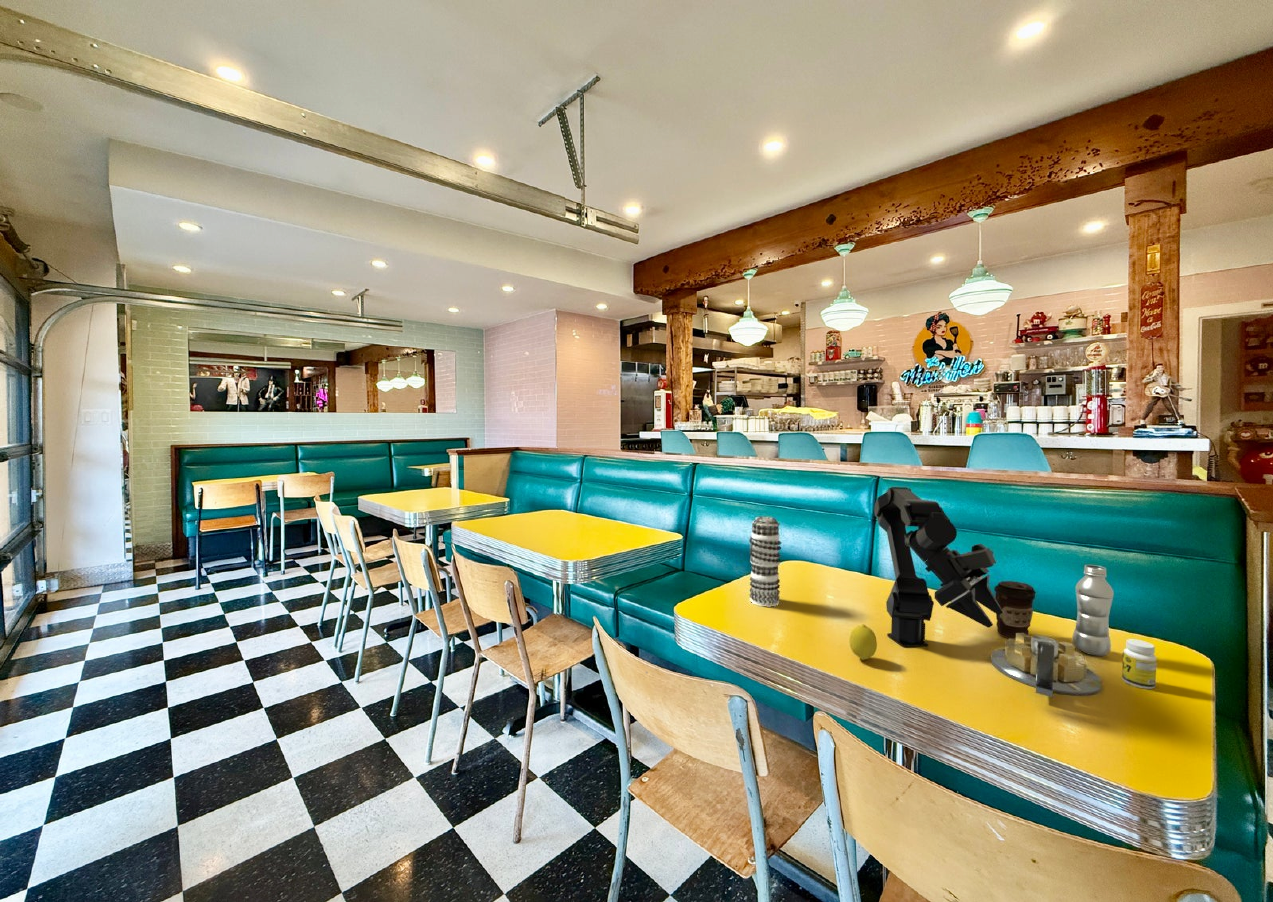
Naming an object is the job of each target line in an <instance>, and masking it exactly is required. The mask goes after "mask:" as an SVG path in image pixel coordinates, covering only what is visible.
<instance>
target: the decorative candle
mask: <svg viewBox="0 0 1273 902" xmlns="http://www.w3.org/2000/svg"><path fill="white" fill-rule="evenodd" d="M751 524H752V526H751V527H752V528H751V535H750V536H749V540H748V541H749V542H748V543H750V545H749V549H750V550H749V555H750V559H749V562H750V563H751V571H750V578H749V580H750V582H749V586H751V587H750V588H749V597H750V598H749V602H750V601H751V602H752V603H753V604H752V603H751V602H750V603H751V604H752V605H754V604H756V605H755V606H757V605H759V606H758V607H762V606H767V607H766V608H772V607H771V606H774V607H777V606H778V605H777V604H779V605H780V597H781V596H780V593H781V591H780V590H779V589H780V582H781V580H780V578H779V577H780V576H779V575H780V574H779V566H780V565H781V564H780V563H781V559H780V558H779V557H781V556H782V554H781V553H780V552H779V551H780V550H782V547H781V546H780V545H781V544H782V541H780V533H779V530H780V528H779V525H781V524H780V523H779V522H778V521H777V519H776V517H775V518H774V517H772V516H756V517H755V519H754V520H753V521H751ZM776 605H777V606H776Z"/></svg>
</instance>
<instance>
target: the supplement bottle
mask: <svg viewBox="0 0 1273 902" xmlns="http://www.w3.org/2000/svg"><path fill="white" fill-rule="evenodd" d="M1155 647H1156V646H1155V645H1154V644H1153V643H1150V642H1147V641H1146V640H1145V641H1144V640H1141V639H1136V638H1128V639H1126V643H1125V648H1124V649H1123V652H1122V654H1123V655H1122V672H1121V679H1122V681H1123V682H1125V683H1126V684H1128V685H1130V686H1133V687H1136V688H1140V689H1145V690H1152V689H1155V688H1156V679H1157V678H1156V677H1157V676H1156V675H1157V661H1158V660H1157V659H1158V658H1157V656H1156V655H1155V652H1156V651H1155V650H1156V649H1155Z"/></svg>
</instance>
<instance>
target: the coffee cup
mask: <svg viewBox="0 0 1273 902" xmlns="http://www.w3.org/2000/svg"><path fill="white" fill-rule="evenodd" d="M993 590H994V593H995V595H994V597H995V598H996V600H997V602H998V604H999V605H1000V607H1001V609H1002V611H1003V613H1002V614H1000V615H997V614H996V613H995V616H996V617H995V618H996V629H997V630H996V631H997V634H998V635H999V636H1001V637H1004V638H1006V639H1010V638H1016V633H1025V634H1027V635H1029V628H1030V627H1031V622H1032V617H1033V615H1034V614H1033V613H1034V608H1033V603H1034V600H1035V599H1036V593H1037V591H1035V589H1034V587H1033V586H1032V585H1031V584H1028V583H1025V582H1020V581H1013V580H1005V581H1003V580H1002V581H1000V582H998V583H997V585H995V587H994V588H993ZM1029 636H1030V635H1029Z"/></svg>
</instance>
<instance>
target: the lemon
mask: <svg viewBox="0 0 1273 902" xmlns="http://www.w3.org/2000/svg"><path fill="white" fill-rule="evenodd" d="M848 640H849V647H850V649H851V652H852V653H853V654H854V655H855V656H856V657H858V658H860V660H862V661H864V660H866V659H870V658H872V657H873V656H875V653H876V651H877V647H878V643H877V637H876V634H875V632H874V630H872V629H871V628H870V627H868V626H867V625H866V624H864V623H863V624H861V625H857V626H855V627H854V628H853V629H852V630H851V632H850V635H849V639H848Z"/></svg>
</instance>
